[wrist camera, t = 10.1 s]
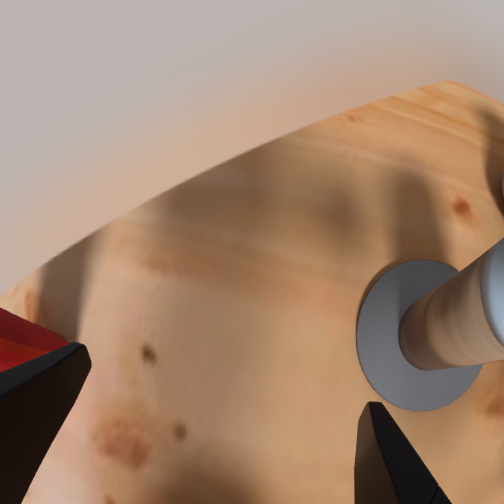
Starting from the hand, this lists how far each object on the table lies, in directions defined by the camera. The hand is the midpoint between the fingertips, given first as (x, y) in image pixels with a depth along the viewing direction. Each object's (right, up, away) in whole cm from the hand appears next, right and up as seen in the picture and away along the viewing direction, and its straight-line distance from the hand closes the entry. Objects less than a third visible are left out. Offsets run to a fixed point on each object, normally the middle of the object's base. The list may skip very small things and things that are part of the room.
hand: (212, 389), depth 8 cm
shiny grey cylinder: (+15, -2, +12) cm, 19 cm away
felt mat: (+15, -2, +12) cm, 19 cm away
